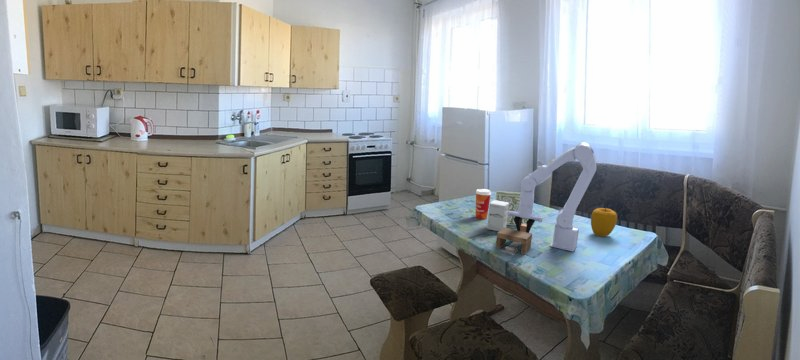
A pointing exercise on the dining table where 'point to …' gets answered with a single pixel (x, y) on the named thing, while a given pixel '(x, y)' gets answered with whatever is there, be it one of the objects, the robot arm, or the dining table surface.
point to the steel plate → (509, 250)
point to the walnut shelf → (514, 238)
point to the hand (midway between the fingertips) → (522, 234)
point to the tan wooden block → (517, 244)
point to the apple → (603, 221)
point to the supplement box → (497, 215)
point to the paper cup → (482, 203)
